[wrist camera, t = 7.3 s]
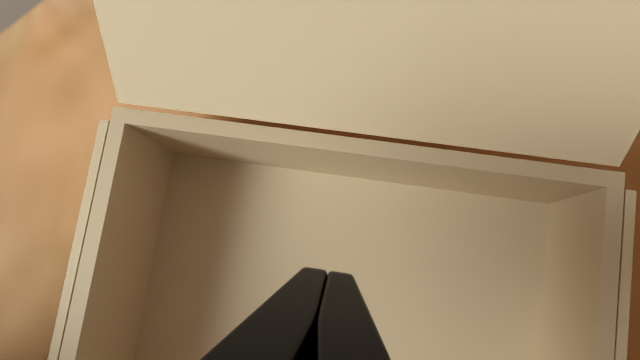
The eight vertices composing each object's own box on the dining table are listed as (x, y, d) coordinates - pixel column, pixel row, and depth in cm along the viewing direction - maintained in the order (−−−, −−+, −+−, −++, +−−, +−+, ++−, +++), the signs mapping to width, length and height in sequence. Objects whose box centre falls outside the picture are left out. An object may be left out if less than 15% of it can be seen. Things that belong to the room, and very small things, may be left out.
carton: (542, 535, 18) (610, 635, 13) (98, 450, 20) (14, 512, 15) (568, 195, 20) (637, 173, 15) (160, 140, 22) (102, 104, 17)
